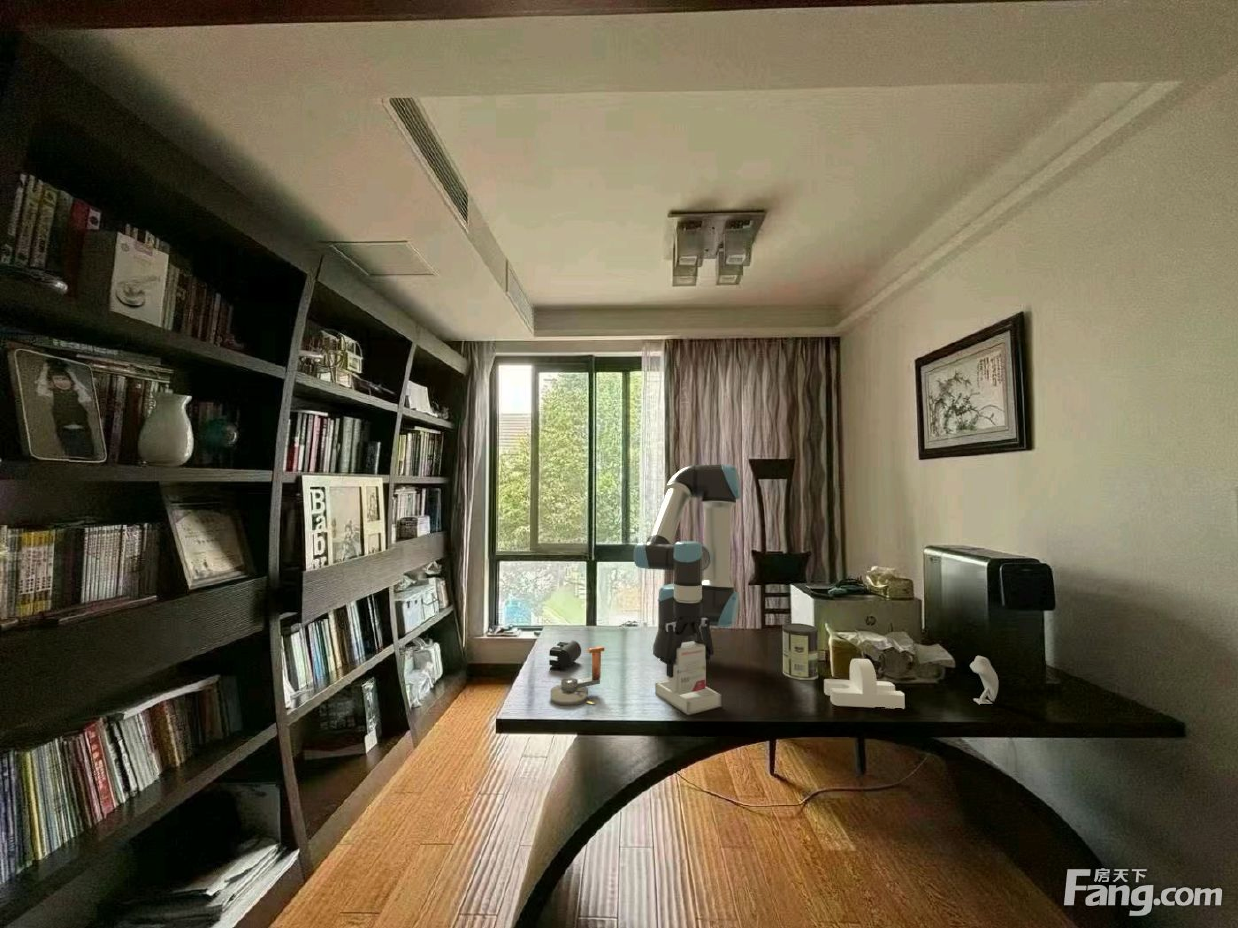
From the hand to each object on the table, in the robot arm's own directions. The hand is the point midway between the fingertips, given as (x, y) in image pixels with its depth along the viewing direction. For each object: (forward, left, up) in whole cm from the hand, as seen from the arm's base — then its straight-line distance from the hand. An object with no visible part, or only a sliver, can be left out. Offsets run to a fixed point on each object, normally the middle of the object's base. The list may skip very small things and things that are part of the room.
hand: (687, 685), depth 136 cm
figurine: (-69, +39, -4) cm, 79 cm away
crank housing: (+27, -15, -4) cm, 31 cm away
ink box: (0, 0, -1) cm, 1 cm away
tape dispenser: (-42, +22, -4) cm, 48 cm away
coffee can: (-42, +1, -4) cm, 42 cm away
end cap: (+18, -39, -4) cm, 43 cm away
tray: (0, 0, -4) cm, 4 cm away
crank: (+23, -16, -1) cm, 28 cm away
